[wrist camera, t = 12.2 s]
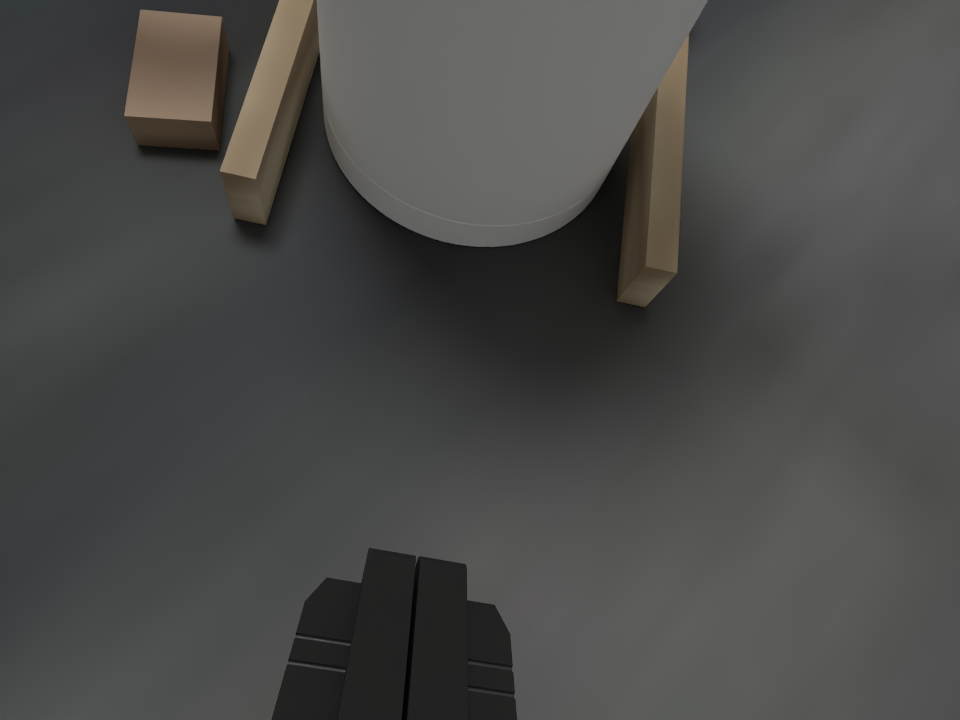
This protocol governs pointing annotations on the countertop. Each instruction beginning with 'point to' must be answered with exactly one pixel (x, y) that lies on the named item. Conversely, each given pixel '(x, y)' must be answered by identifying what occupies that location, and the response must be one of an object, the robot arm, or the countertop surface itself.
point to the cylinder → (489, 105)
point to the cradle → (282, 96)
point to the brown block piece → (178, 81)
